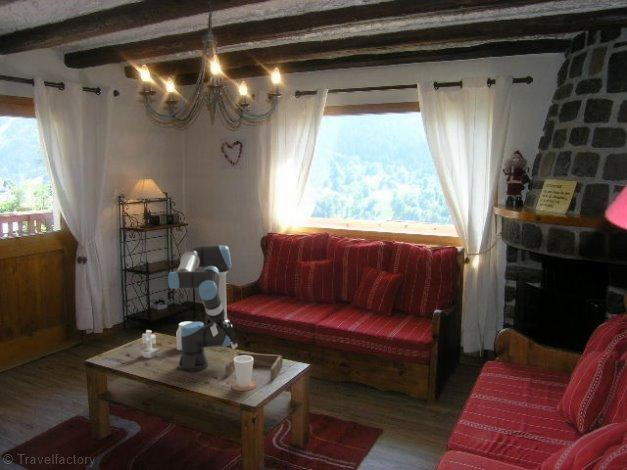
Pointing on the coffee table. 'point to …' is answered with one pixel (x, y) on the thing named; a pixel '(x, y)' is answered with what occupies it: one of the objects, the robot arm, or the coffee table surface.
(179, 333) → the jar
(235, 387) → the terracotta pad
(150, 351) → the figurine
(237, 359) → the foam cup
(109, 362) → the coffee table surface
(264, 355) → the wooden tray
